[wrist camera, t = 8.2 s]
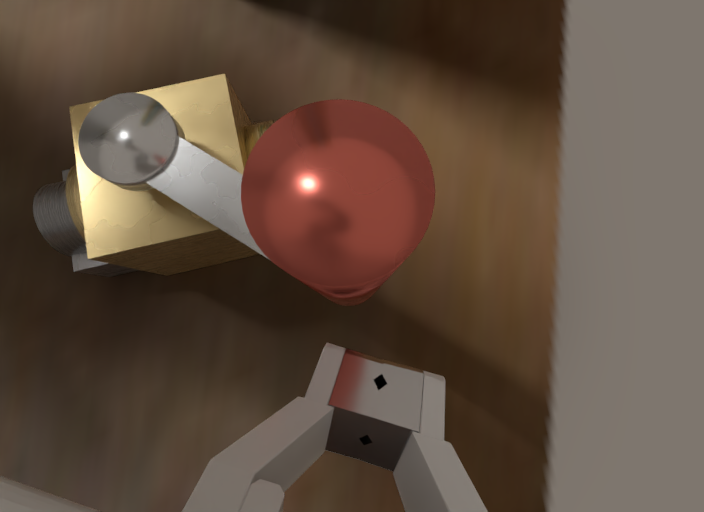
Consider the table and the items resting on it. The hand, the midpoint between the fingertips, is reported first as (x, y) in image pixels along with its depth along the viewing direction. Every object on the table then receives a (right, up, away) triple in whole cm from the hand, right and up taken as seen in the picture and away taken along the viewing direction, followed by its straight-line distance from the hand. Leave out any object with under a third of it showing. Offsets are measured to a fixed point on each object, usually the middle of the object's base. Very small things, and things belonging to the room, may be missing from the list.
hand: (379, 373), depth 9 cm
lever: (-6, +5, +7) cm, 10 cm away
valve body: (-10, +6, +16) cm, 20 cm away
